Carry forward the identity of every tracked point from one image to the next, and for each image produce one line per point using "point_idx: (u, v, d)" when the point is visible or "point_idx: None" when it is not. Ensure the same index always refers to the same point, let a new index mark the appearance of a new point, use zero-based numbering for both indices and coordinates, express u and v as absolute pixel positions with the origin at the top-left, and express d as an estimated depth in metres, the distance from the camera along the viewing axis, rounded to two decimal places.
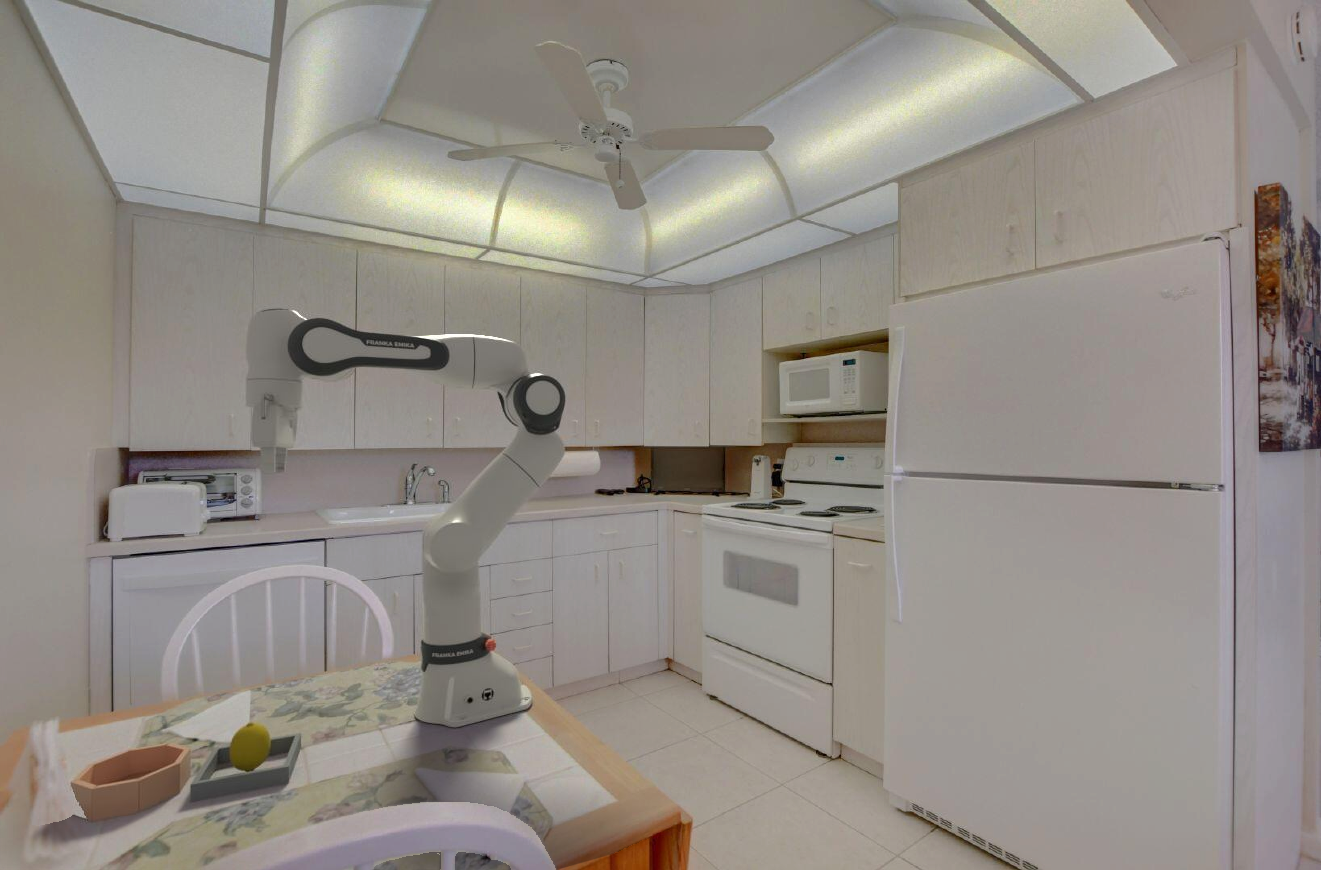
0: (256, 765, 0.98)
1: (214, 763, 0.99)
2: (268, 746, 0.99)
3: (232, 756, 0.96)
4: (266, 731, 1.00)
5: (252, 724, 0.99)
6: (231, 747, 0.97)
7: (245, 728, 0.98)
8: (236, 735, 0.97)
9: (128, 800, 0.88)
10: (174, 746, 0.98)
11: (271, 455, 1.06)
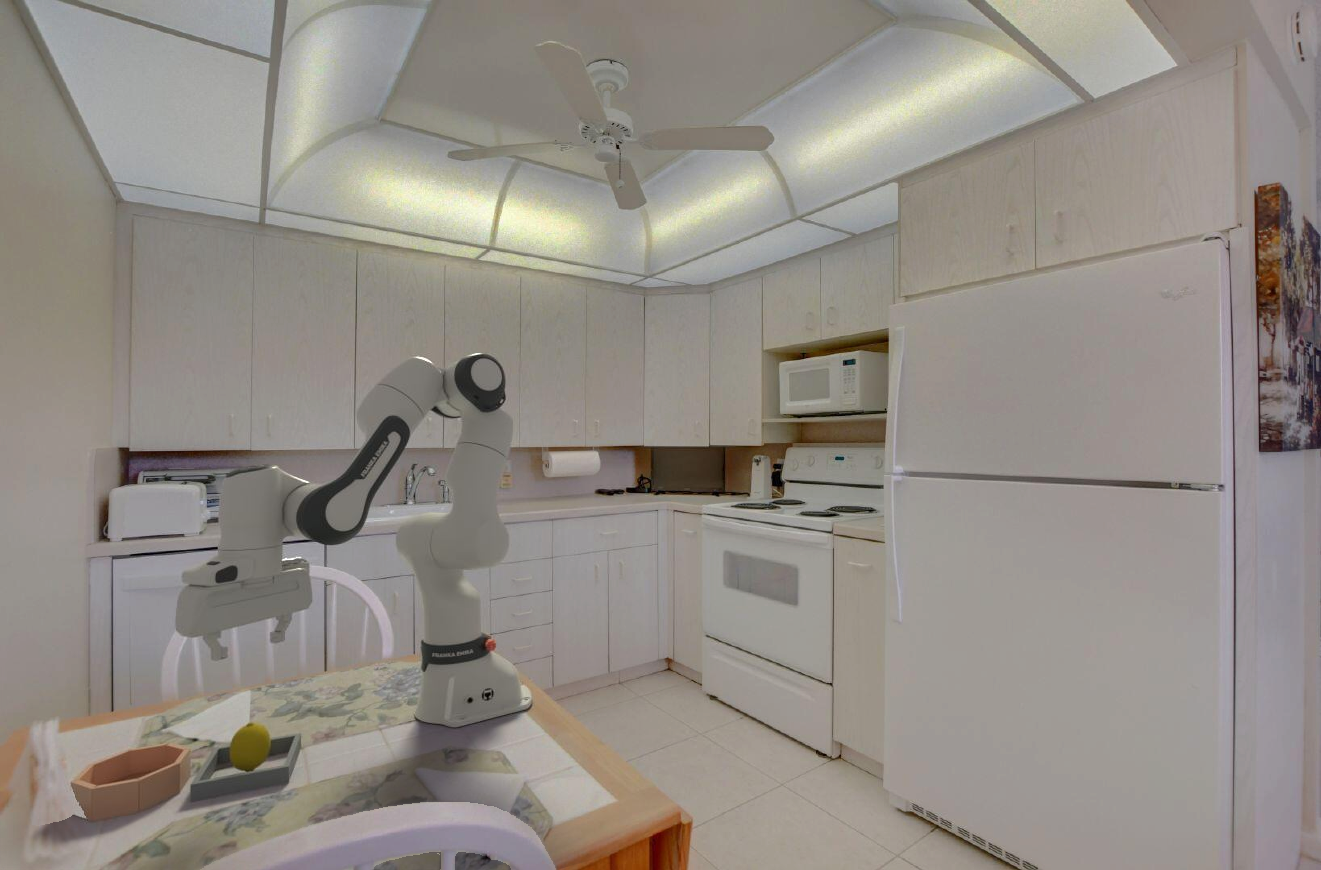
0: (256, 765, 0.98)
1: (214, 763, 0.99)
2: (268, 746, 0.99)
3: (232, 756, 0.96)
4: (266, 731, 1.00)
5: (252, 724, 0.99)
6: (231, 747, 0.97)
7: (245, 728, 0.98)
8: (236, 735, 0.97)
9: (128, 800, 0.88)
10: (174, 746, 0.98)
11: None
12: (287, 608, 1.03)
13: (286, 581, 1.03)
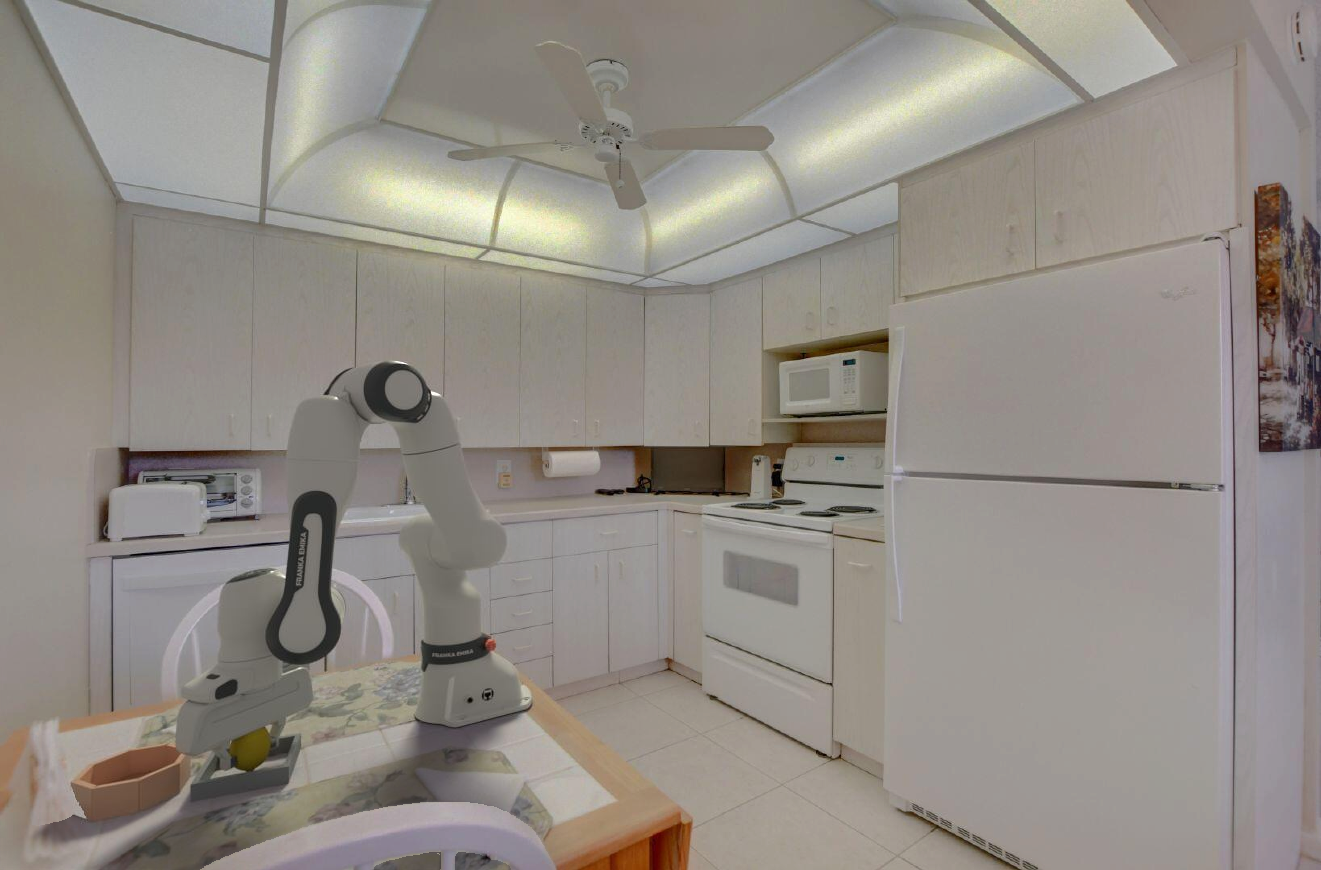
0: (256, 765, 0.98)
1: (214, 763, 0.99)
2: (268, 746, 0.99)
3: None
4: (266, 731, 1.00)
5: None
6: (231, 747, 0.97)
7: None
8: None
9: (128, 800, 0.88)
10: (174, 746, 0.98)
11: None
12: (288, 711, 1.03)
13: (286, 684, 1.03)
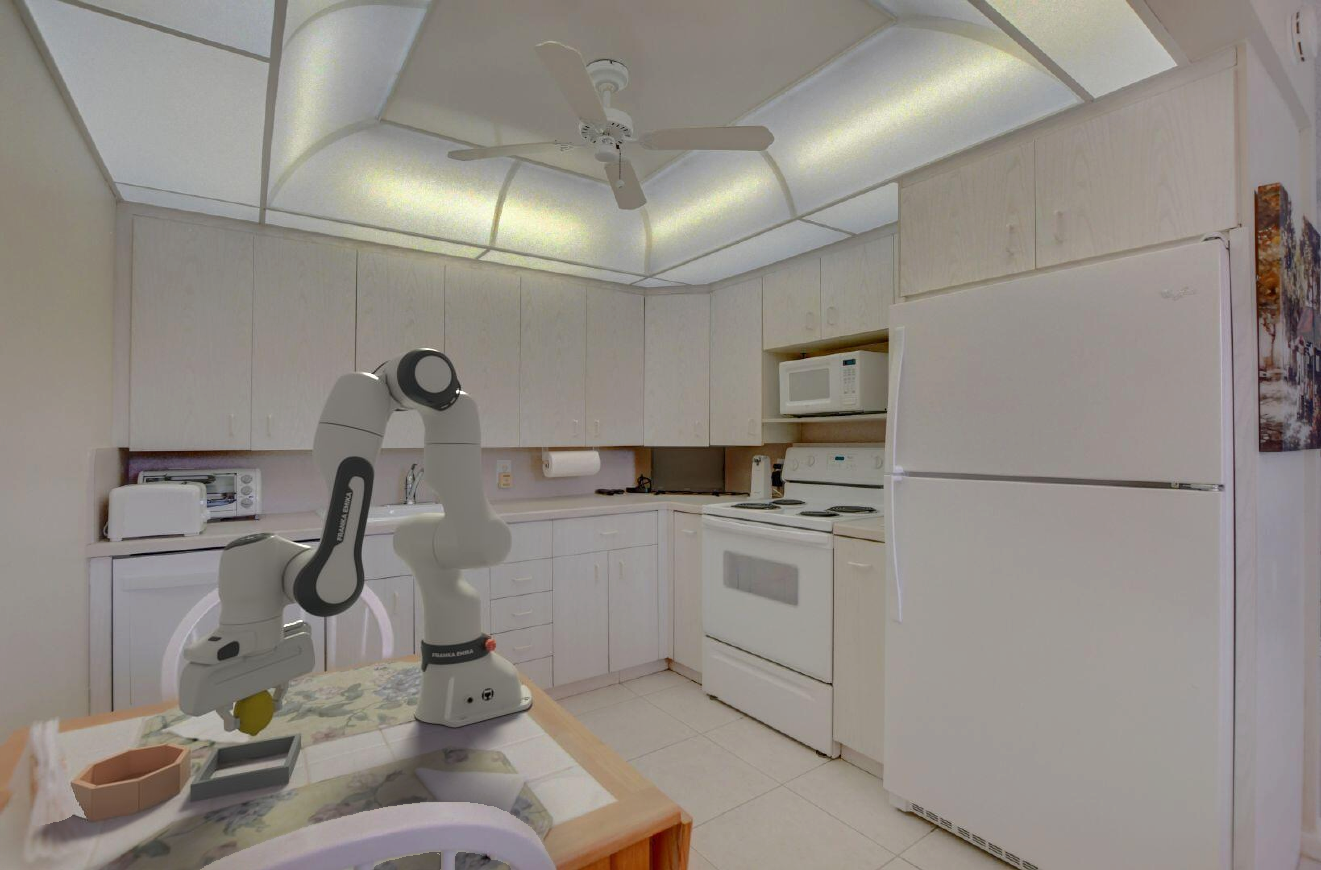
0: (260, 728, 0.98)
1: (214, 763, 0.99)
2: (271, 710, 1.00)
3: None
4: (269, 695, 1.00)
5: None
6: (235, 710, 0.97)
7: None
8: None
9: (128, 800, 0.88)
10: (174, 746, 0.98)
11: None
12: (290, 674, 1.03)
13: (288, 648, 1.03)
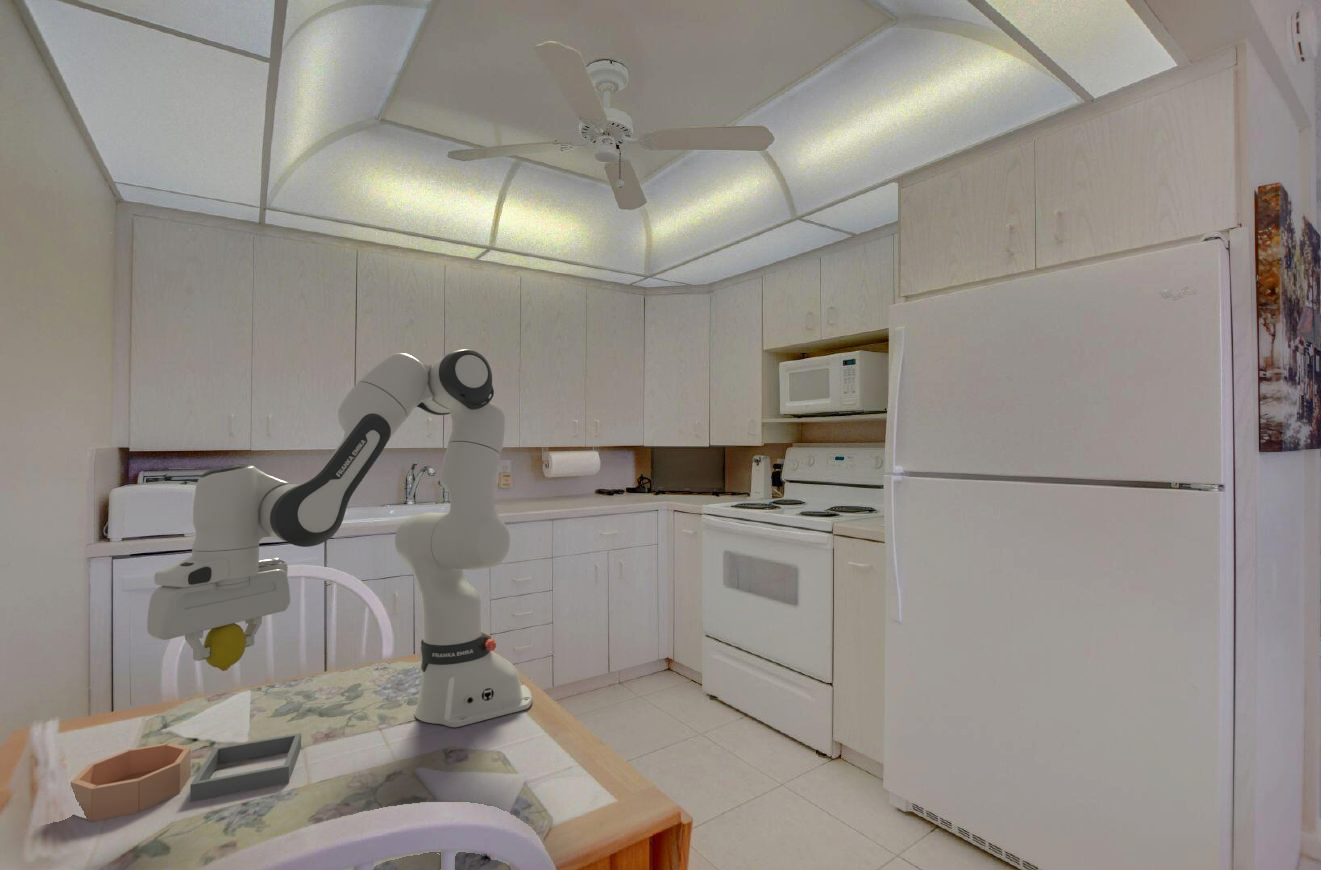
0: (230, 662, 0.97)
1: (214, 763, 0.99)
2: (243, 645, 0.98)
3: None
4: (241, 630, 0.99)
5: None
6: (205, 643, 0.96)
7: None
8: (210, 631, 0.97)
9: (128, 800, 0.88)
10: (174, 746, 0.98)
11: None
12: (264, 610, 1.02)
13: (262, 582, 1.02)
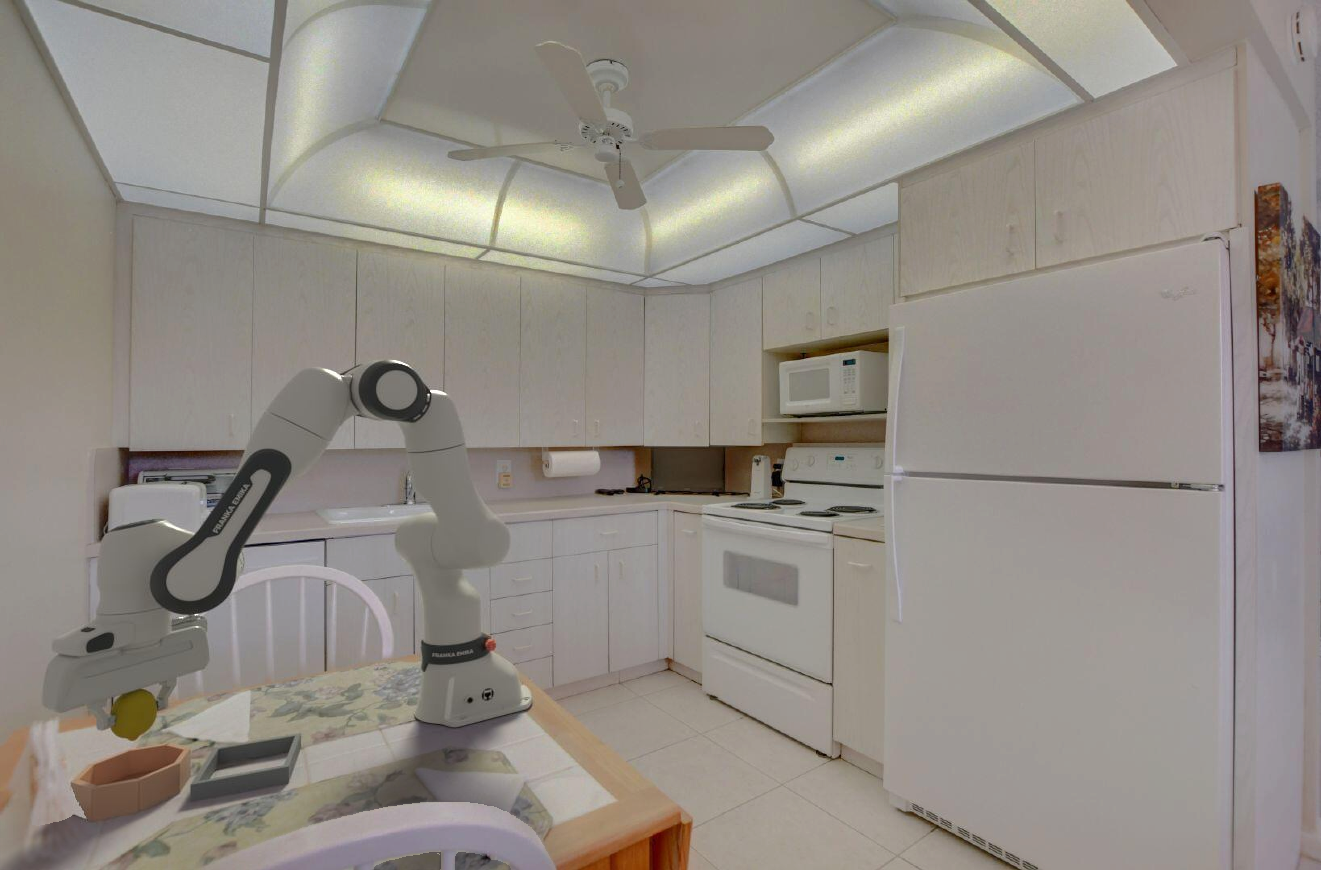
0: (138, 732, 0.92)
1: (214, 763, 0.99)
2: (153, 713, 0.93)
3: None
4: (151, 697, 0.94)
5: None
6: (111, 713, 0.91)
7: (127, 693, 0.92)
8: (117, 700, 0.92)
9: (128, 800, 0.88)
10: (174, 746, 0.98)
11: None
12: (178, 671, 0.97)
13: (176, 642, 0.97)
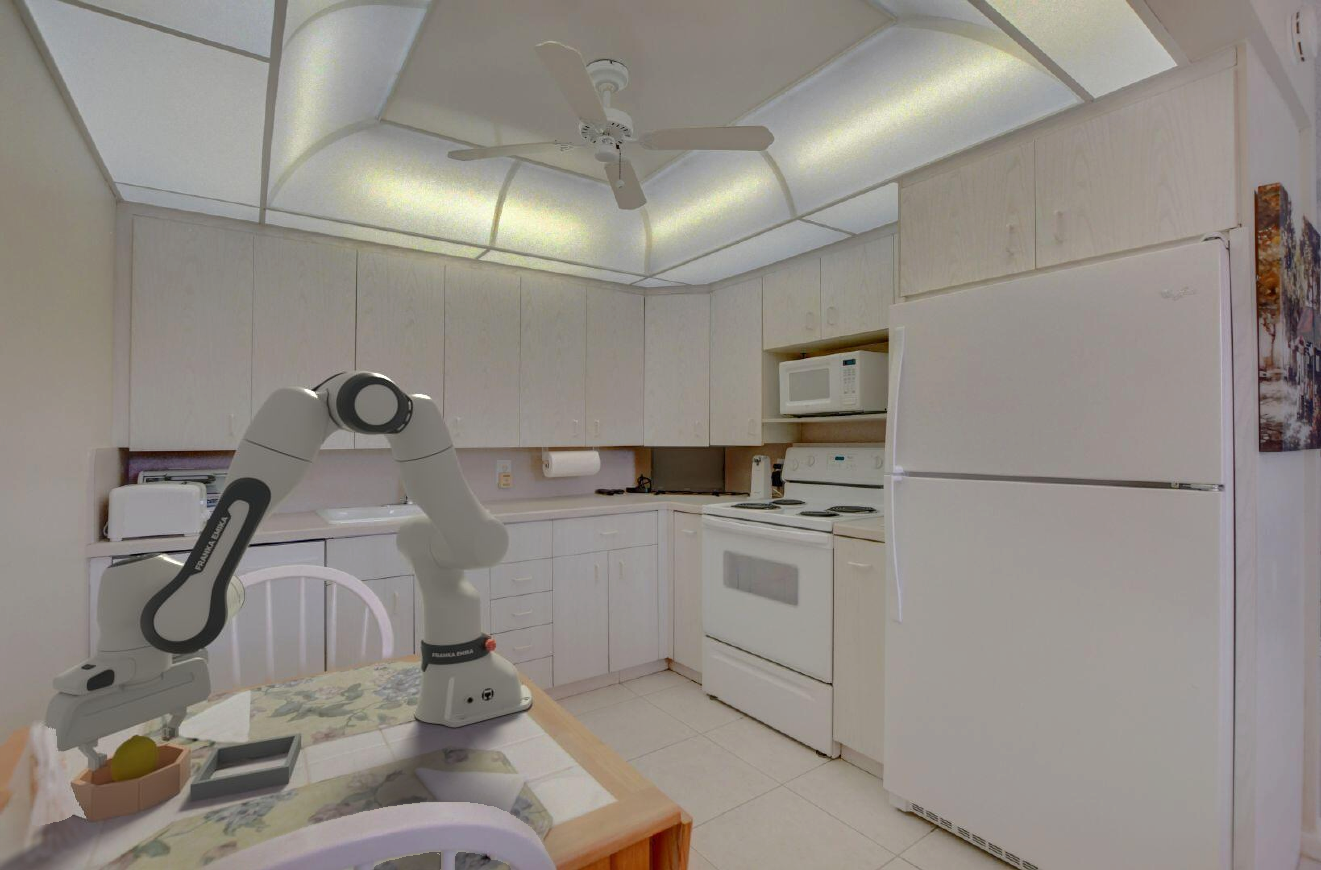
0: None
1: (214, 763, 0.99)
2: (154, 761, 0.93)
3: (112, 772, 0.90)
4: (153, 745, 0.94)
5: (137, 737, 0.93)
6: (112, 762, 0.91)
7: (128, 742, 0.92)
8: (118, 749, 0.91)
9: (128, 800, 0.88)
10: (174, 746, 0.98)
11: None
12: (180, 703, 0.97)
13: (177, 675, 0.97)
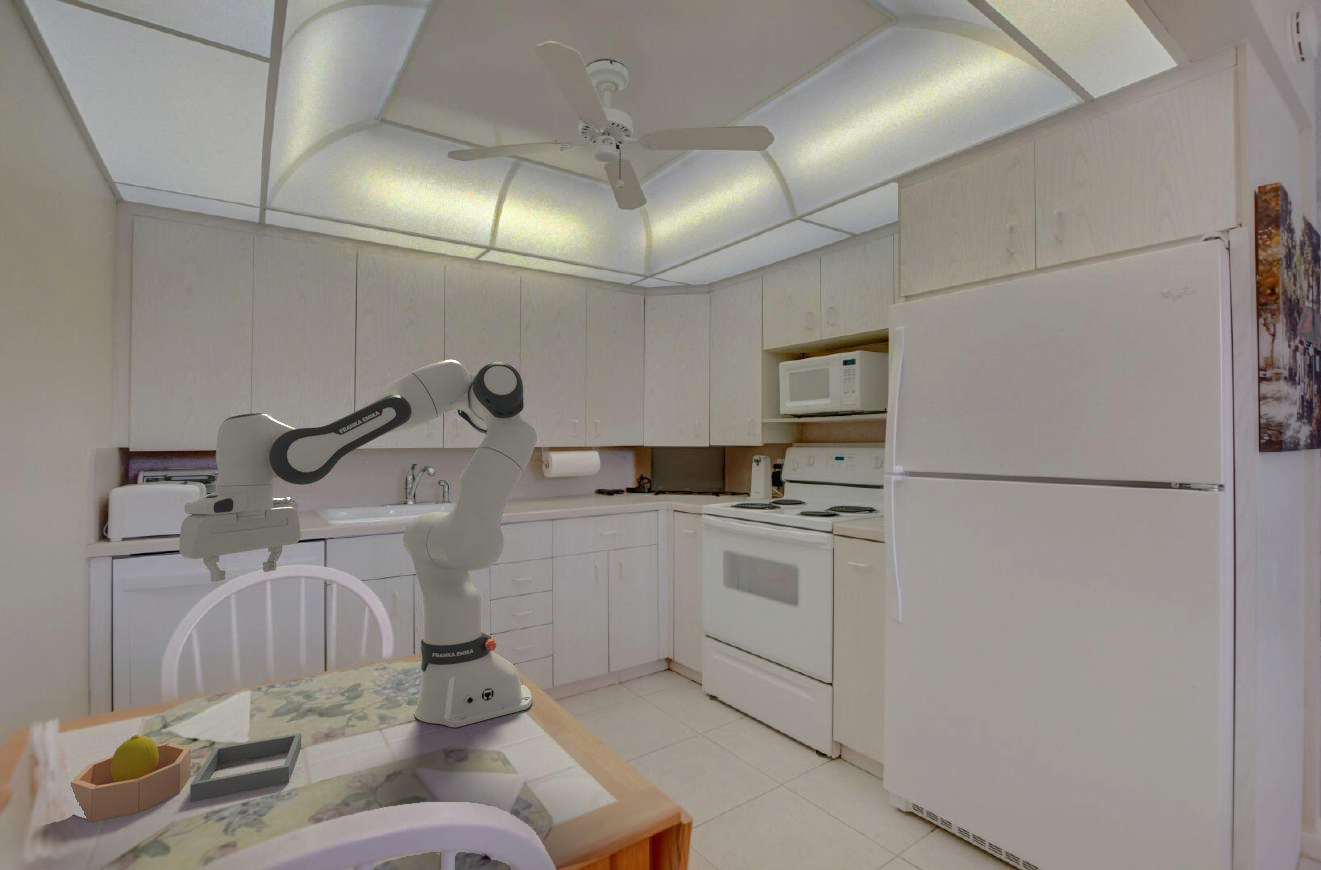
0: None
1: (214, 763, 0.99)
2: (154, 760, 0.93)
3: (112, 771, 0.91)
4: (153, 744, 0.94)
5: (137, 737, 0.93)
6: (112, 762, 0.91)
7: (128, 741, 0.92)
8: (118, 749, 0.92)
9: (128, 800, 0.88)
10: (174, 746, 0.98)
11: None
12: (278, 541, 1.17)
13: (276, 517, 1.17)
